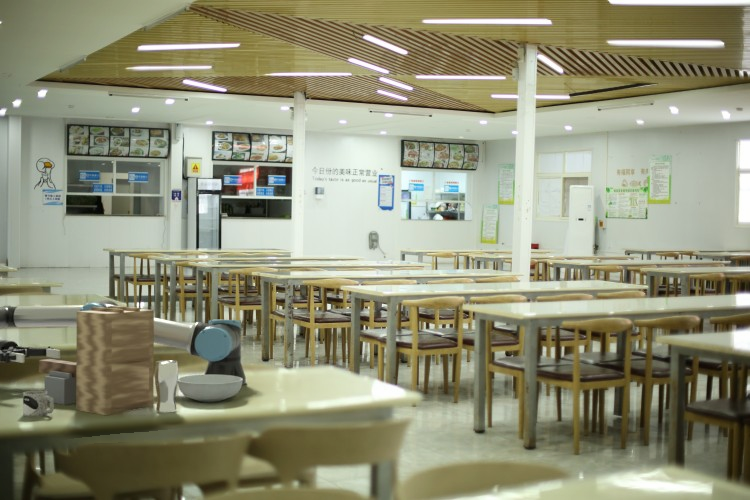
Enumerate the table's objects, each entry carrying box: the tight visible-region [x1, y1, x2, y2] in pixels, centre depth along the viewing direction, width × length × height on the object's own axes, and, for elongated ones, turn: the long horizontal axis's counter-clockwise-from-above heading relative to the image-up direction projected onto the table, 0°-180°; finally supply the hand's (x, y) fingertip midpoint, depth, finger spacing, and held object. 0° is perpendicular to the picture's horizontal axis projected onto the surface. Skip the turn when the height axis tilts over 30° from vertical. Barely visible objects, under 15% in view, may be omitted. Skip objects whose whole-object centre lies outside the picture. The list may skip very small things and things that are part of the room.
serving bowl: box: [177, 374, 243, 403], centre depth 291 cm, size 21×21×7 cm
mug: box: [22, 390, 55, 418], centre depth 263 cm, size 10×7×7 cm, turn 68°
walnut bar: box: [38, 358, 76, 378], centre depth 288 cm, size 24×4×4 cm, turn 56°
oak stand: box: [75, 305, 155, 416], centre depth 274 cm, size 14×18×31 cm
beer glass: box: [154, 359, 179, 414], centre depth 270 cm, size 7×7×15 cm
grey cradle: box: [44, 371, 76, 406], centre depth 287 cm, size 10×12×10 cm
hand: (41, 356), depth 295 cm, fingers open, 13 cm apart
